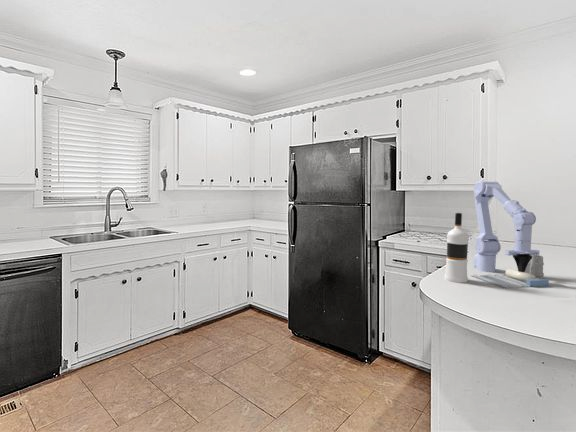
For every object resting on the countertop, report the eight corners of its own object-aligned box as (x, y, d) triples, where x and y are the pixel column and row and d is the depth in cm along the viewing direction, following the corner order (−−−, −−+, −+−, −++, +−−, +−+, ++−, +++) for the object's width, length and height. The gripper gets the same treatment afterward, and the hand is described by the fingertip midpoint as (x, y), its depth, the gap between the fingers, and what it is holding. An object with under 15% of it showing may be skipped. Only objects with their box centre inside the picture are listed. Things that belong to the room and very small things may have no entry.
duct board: (470, 277, 157) (470, 270, 157) (513, 276, 160) (514, 269, 160) (503, 290, 138) (503, 281, 137) (552, 288, 141) (552, 280, 140)
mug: (544, 276, 160) (546, 251, 159) (541, 281, 151) (543, 254, 150) (524, 274, 165) (526, 249, 164) (521, 278, 156) (522, 252, 155)
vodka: (439, 280, 153) (441, 212, 151) (455, 278, 156) (458, 212, 154) (456, 285, 144) (459, 213, 142) (472, 283, 147) (476, 213, 145)
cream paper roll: (505, 276, 156) (505, 268, 155) (513, 277, 156) (514, 268, 156) (526, 284, 144) (527, 274, 143) (535, 284, 144) (536, 274, 144)
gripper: (515, 241, 143) (513, 274, 144) (546, 241, 145) (544, 273, 146) (502, 239, 150) (500, 270, 151) (532, 239, 152) (530, 269, 153)
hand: (521, 271), depth 149 cm, fingers closed
